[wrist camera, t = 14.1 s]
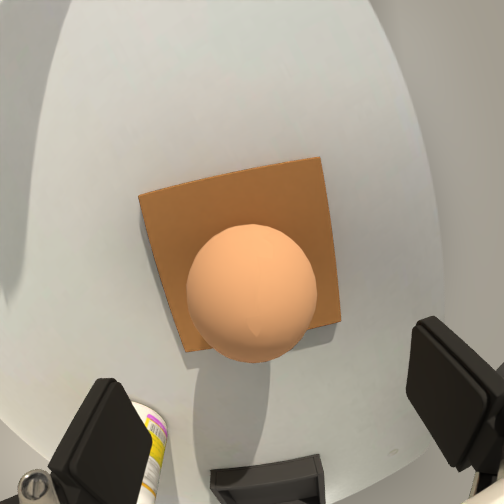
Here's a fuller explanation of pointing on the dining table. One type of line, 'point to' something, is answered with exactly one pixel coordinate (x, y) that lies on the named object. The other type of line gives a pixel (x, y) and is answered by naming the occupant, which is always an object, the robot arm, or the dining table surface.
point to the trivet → (236, 214)
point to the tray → (272, 483)
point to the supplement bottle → (152, 453)
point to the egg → (251, 293)
